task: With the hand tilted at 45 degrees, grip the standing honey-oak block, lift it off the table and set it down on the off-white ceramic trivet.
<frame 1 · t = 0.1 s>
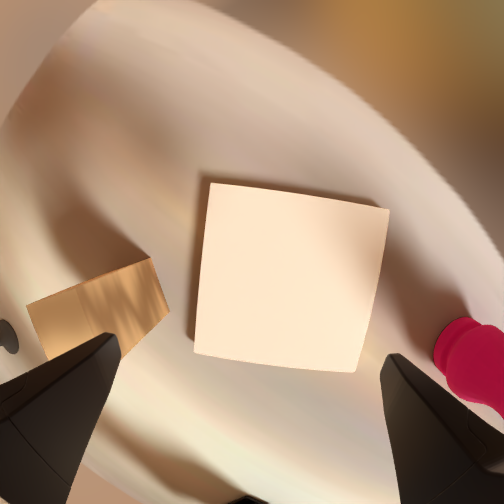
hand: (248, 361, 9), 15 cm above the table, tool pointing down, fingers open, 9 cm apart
pepper mill: (455, 344, 24), on the table
trivet: (289, 281, 24), on the table
oak block: (136, 291, 25), on the table
sundae: (8, 336, 28), on the table
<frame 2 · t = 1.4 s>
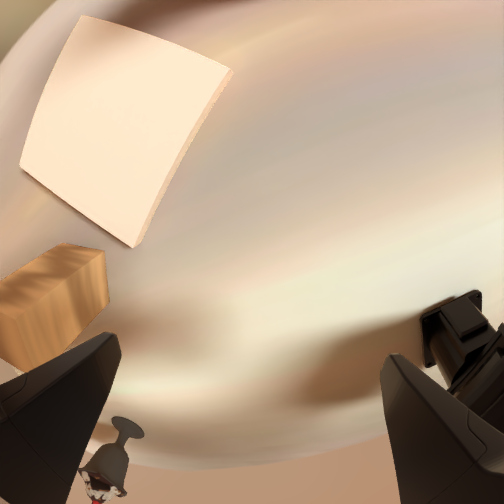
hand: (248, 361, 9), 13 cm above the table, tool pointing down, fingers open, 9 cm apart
trivet: (107, 119, 19), on the table
oak block: (84, 272, 24), on the table
sundae: (128, 426, 32), on the table
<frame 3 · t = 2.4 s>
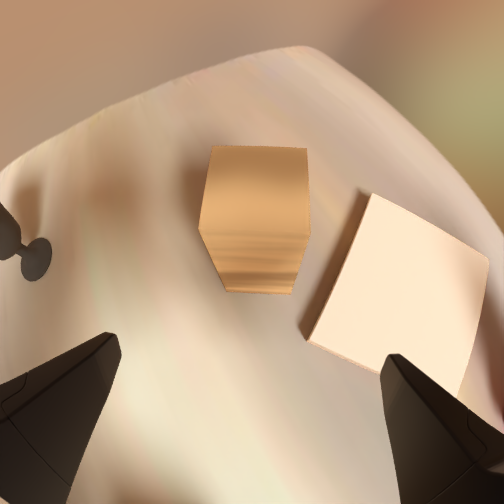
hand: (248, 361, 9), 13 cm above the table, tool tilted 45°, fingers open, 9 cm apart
trivet: (412, 299, 22), on the table
oak block: (260, 263, 24), on the table
sundae: (36, 260, 25), on the table
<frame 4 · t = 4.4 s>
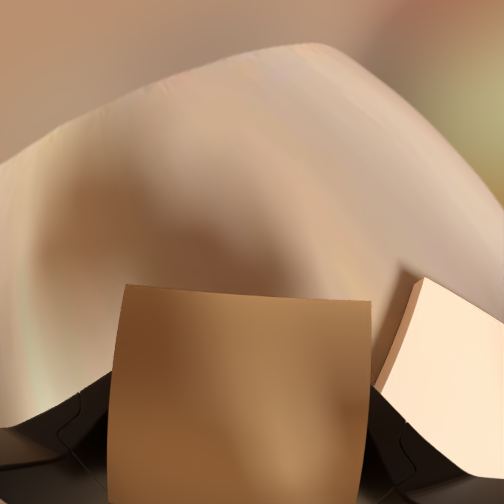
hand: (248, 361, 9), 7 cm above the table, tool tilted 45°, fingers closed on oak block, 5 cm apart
trivet: (455, 421, 13), on the table
oak block: (252, 390, 15), on the table, touching gripper
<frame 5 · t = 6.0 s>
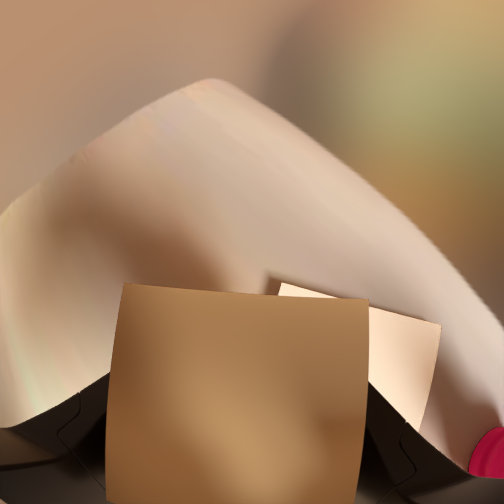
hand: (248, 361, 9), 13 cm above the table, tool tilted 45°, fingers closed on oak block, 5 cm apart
pepper mill: (488, 455, 16), on the table
trivet: (341, 395, 20), on the table
oak block: (251, 389, 15), point 6 cm above the table, touching gripper
when the fingers open (9 cm above the table, at t = 7.5 s): oak block stays where it is, resting on trivet.
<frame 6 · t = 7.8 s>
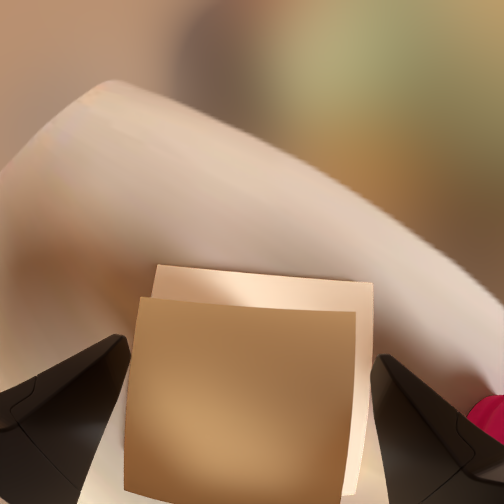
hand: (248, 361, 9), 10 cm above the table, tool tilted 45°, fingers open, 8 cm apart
pepper mill: (482, 432, 14), on the table
trivet: (253, 387, 17), on the table
oak block: (252, 389, 16), point 1 cm above the table, touching trivet
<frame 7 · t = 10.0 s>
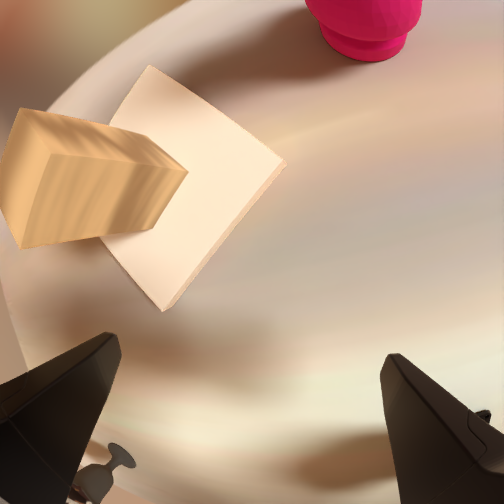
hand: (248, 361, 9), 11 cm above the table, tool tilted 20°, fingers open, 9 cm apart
pepper mill: (363, 29, 15), on the table
trivet: (160, 181, 22), on the table
oak block: (148, 180, 20), point 1 cm above the table, touching trivet
sundae: (122, 455, 31), on the table
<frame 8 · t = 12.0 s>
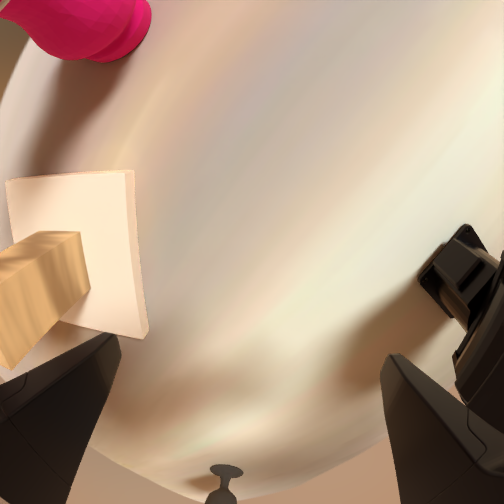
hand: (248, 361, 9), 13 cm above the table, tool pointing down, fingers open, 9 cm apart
pepper mill: (116, 28, 16), on the table
trivet: (72, 251, 23), on the table
oak block: (63, 258, 21), point 1 cm above the table, touching trivet
sundae: (227, 470, 35), on the table
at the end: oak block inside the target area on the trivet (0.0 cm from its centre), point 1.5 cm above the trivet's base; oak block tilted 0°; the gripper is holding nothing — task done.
